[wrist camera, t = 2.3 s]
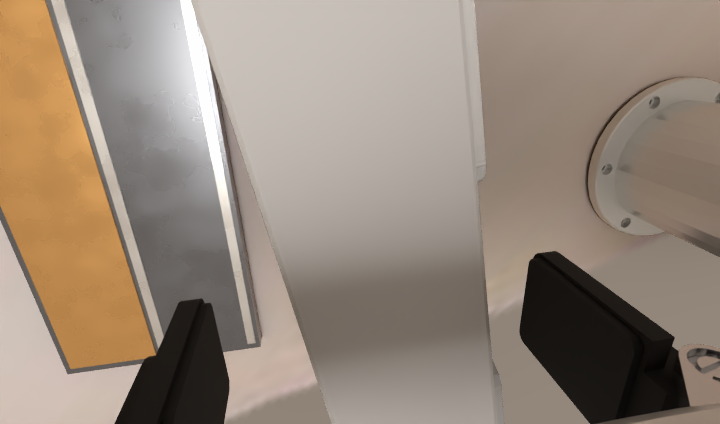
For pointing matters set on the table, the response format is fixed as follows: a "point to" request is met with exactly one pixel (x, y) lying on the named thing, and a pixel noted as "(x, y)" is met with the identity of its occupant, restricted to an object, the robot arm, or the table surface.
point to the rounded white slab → (369, 193)
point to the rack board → (118, 176)
